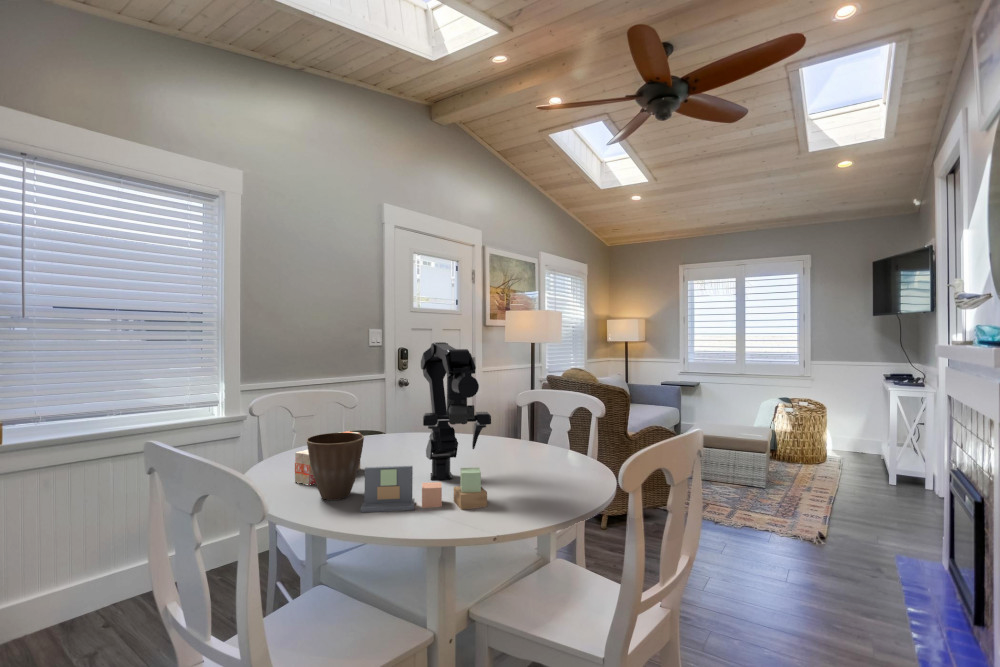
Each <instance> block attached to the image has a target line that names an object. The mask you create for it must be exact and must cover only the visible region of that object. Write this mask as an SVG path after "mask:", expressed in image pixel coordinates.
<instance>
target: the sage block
mask: <svg viewBox="0 0 1000 667" xmlns="http://www.w3.org/2000/svg"><path fill="white" fill-rule="evenodd" d="M481 473H482V472H481V469H480V467H460V486H461V493H464V492H481V487H482V486H481V484H482V483H481V482H482V474H481Z"/></svg>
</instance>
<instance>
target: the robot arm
mask: <svg viewBox="0 0 1000 667" xmlns="http://www.w3.org/2000/svg"><path fill="white" fill-rule="evenodd" d="M476 368H477V367H476V365H475V362H474V358H473V355H472V353H471V352H470V350H469V349H467V348H462V349H461V348H459V349H458V348H455V347H453V346H452V345H449V343H448V342H447V343H446V342H443V341H442V342H440V341H439V342H432V343H431V345H430V347H429V348H428V349H427V350H425V351H424V352H423V353H422V356H421V359H420V369H421V370H422V373H423V374H422V375H423V377H424V378H425V380H426V381H427V382H428V383H429V395H430V404H431V405H430V406H431V412H425V413H424V414H423V417H422V418H423V420H422V425H423V426H424V427H427V429H430V430H431V432H430V434H429V439H428V442H427V446H426V448H425V456H426V458H427V459H428V460H429V461H431V472H430V480H431V481H435V480H436V481H439V480H453V474H452V471H451V458H452V459H453V458H457V455H458V447H459V441H458V439H457V437H456V431H455V429H454V427H453V426H452V427H451V425H458V424H459V425H467V424H468V422H471V423H472V422H473V424H474V425H473V434H472V441H471V442H472V444H471V445H472V450H475V448H476V445H477V441H478V438H479V435H480V434H481V432H482V430H483V429H484V428H487V425H492V416H491V413H489V412H488V411H475V405H474V404H471V405H468V399H469V398H473V397H474V396H476V394H477V393H478V392H479V390H480V389H479V388H480V385H479V382H478V380H477V379H476V378H475V377H474V376H472V375H474V374H476ZM445 376H446V394H445V384H444V378H445Z"/></svg>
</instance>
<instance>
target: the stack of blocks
mask: <svg viewBox="0 0 1000 667" xmlns="http://www.w3.org/2000/svg"><path fill="white" fill-rule="evenodd" d="M338 433H358V434H361V432H356V431H341V432H338ZM294 456H295V457H294V458H295V460H294V483H295V482H298V483H297V484H299V483H303V484H302V485H304V484H308V485H307V486H311V485H310V484H312V485H314V484H313V483H315V484H316V482H315V479H314V475H313V472H312V468H311V463H310V459H309V453H308V448H307V449H304V450H300V451H296V452H295V455H294ZM360 470H361V462H360V463H359V467H358V471H360Z"/></svg>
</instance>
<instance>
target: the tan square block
mask: <svg viewBox="0 0 1000 667" xmlns="http://www.w3.org/2000/svg"><path fill="white" fill-rule="evenodd" d="M453 502H454V504H455V505H456V506H457V507H458V508H459V510H467V509H468V510H469V509H479V508H486V507H488V491H486V490H485V488H484V487H482V486H481V492H464V493H461V485H460V486H454V487H453Z"/></svg>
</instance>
